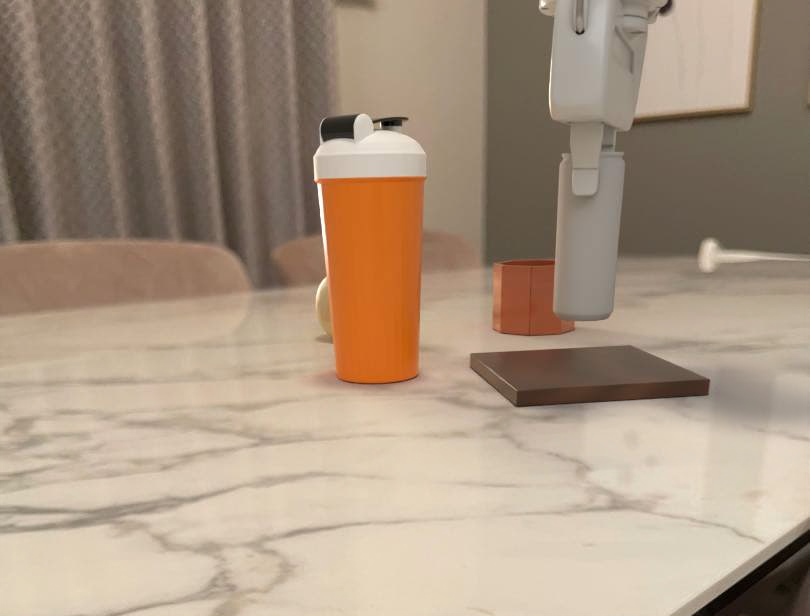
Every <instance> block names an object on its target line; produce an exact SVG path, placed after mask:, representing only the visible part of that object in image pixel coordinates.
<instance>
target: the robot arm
mask: <svg viewBox="0 0 810 616" xmlns="http://www.w3.org/2000/svg"><path fill="white" fill-rule="evenodd" d="M668 1H669V0H538V10H539V12H540V13H541V14H542V15H545V16H548V17H552V18H554V19H553V30H552V41H551V43H552V44H551V54H550V55H551V57H550V70H549V71H550V72H549V88H548V105H549V106H548V108H549V113H550V117H551V120H552V121H556V122H558V123H561V124H565V125H568V126H570V131H569V147H570V153H571V159H572V169H573V175H572V192H573V194H575V195H576V196H592V195H594V194H597V192H598V191H599V182H600V169H599V167H600V155H601V152H615V151H616V144H617V141H616V140H617V133H622V132H623V133H624V132H628V131H630V130H631V128H632V126H633V123H634V119H635V114H636V109H637V104H638V99H639V93H640V87H641V82H642V76H643V68H644V63H645V62H644V61H645V56H646V49H647V43H648V37H649V36H648V34H649V25H653V24H655V23H656V22H657V19H658V16H659V11H660V10H661V9H662V8H663V7H664V6H666V5H667V4H668Z"/></svg>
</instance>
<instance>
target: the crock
mask: <svg viewBox="0 0 810 616" xmlns="http://www.w3.org/2000/svg"><path fill="white" fill-rule="evenodd" d="M554 275H555V259H549V258H548V259H547V258H533V259H508V260H501V261H495V262H493V284H492V285H493V286H492V287H493V292H492V329H493V330H495V331H497V332H498V333H500V334H507V335H508V334H509V335H519V336H546V335H547V336H548V335H561V334H564V333H567V332H568V333H569V332H570V331H573V330H575V324H576V321H568V320H562V319H559V318H558V317H557V316H556V315H555V313H554V312H553V296H554Z"/></svg>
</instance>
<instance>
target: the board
mask: <svg viewBox="0 0 810 616" xmlns="http://www.w3.org/2000/svg"><path fill="white" fill-rule="evenodd" d="M469 367H470V368H471V369H472V370H474V371H475V372H476V373H477V374H478V375H479V376H481V377H482V378H483V379H484V380H486V381H487V382H488V383H489V384H490V385H491V386H492V387H493V388H495V390H497V391H498V392H499V393H500V394H502V395H503V396H504V397H505V398H506V399H508V400H509V401H510V402H511V403H512V404H513V405H514V406H515V407H527V406H530V407H531V406H547V405H562V404H577V403H594V402H595V403H596V402H612V401H613V402H614V401H628V400H629V401H630V400H644V399H661V398H662V399H663V398H676V397H695V396H708V395H710V386H711V379H710V378H709V377H706V376H703V375H702V374H699V373H697V372H694V371H691V370H690V369H687V368H685V367H682V366H680V365H678V364H675V363H673V362H671V361H668V360H666V359H664V358H662V357H659V356H657V355H654V354H652V353H650V352H647V351H645V350H643V349H640V348H638V347H636V346H634V345H631V344H625V345H623V344H622V345H604V346H603V345H602V346H586V347H583V346H582V347H567V348H563V347H562V348H547V349H527V350H508V351H507V350H506V351H491V352H490V351H486V352H471V353H470V354H469Z"/></svg>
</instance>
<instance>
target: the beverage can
mask: <svg viewBox="0 0 810 616" xmlns="http://www.w3.org/2000/svg"><path fill="white" fill-rule="evenodd" d="M624 155H625V152H624V151H614V152H601V155H600V167H599V169H600V182H599V191H598V192H597V194H594V195H592V196H576V195H575V194H573V192H572V175H573V169H572V159H571V152H565V153H561V157H562V160H561V162H560V163H559V169H558V170H559V171H558V190H557V216H556V237H555V254H554V255H555V257H554V260H555V275H554V296H553V312H554V313H555V315H556V316H557V317H558V318H559V319H562V320H568V321H575V322H599V321H604V320H608V319H609V318H610V317H611V316H612V314H613V312H614V306H615V293H616V280H617V268H618V267H617V266H618V254H619V253H618V251H619V241H620V240H619V239H620V231H621V230H620V229H621V217H622V207H623V197H624V185H625V183H624V182H625V171H626V170H625V169H626V161H625V160H624V159H623V157H624Z"/></svg>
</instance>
